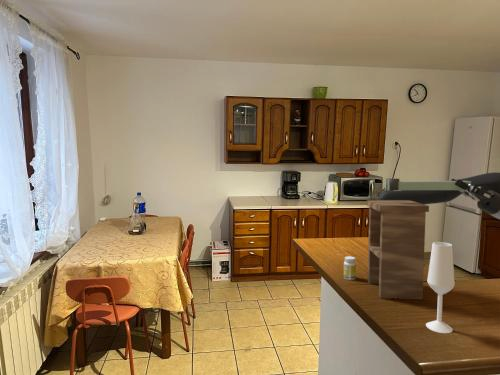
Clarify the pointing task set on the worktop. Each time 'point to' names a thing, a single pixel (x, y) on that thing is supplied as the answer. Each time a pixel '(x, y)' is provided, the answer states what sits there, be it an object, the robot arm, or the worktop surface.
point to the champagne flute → (441, 280)
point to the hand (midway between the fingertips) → (453, 181)
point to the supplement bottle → (349, 268)
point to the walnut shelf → (397, 247)
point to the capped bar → (421, 185)
